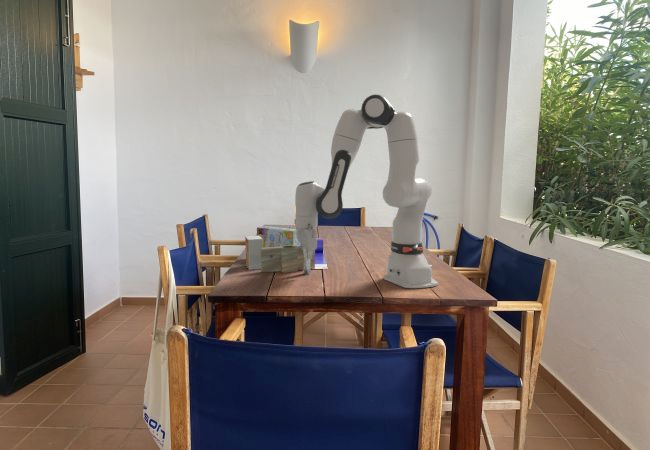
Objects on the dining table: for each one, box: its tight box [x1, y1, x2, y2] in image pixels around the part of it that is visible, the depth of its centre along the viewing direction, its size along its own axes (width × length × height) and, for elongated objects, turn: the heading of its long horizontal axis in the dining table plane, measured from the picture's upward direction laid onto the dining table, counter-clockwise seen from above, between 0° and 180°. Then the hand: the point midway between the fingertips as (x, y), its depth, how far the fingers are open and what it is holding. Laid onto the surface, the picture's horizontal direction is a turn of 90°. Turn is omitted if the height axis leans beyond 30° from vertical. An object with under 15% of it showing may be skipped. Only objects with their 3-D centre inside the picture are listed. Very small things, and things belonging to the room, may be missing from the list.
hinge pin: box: [303, 246, 311, 276], centre depth 193 cm, size 3×3×13 cm
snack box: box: [256, 225, 301, 248], centre depth 217 cm, size 21×6×15 cm, turn 56°
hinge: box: [260, 245, 316, 274], centre depth 199 cm, size 6×22×10 cm, turn 106°
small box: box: [244, 235, 263, 271], centre depth 204 cm, size 8×6×13 cm
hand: (306, 256), depth 193 cm, fingers open, 8 cm apart
